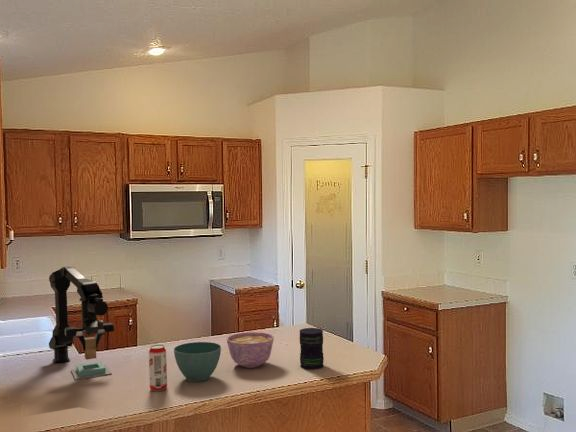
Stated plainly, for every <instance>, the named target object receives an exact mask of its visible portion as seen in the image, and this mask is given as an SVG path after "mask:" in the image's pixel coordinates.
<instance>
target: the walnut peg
mask: <svg viewBox="0 0 576 432" xmlns="http://www.w3.org/2000/svg"><path fill="white" fill-rule="evenodd" d="M84 342H85V351H84V359H85V360H92V359H94V360H95V359H97V350H96V338H95V336H90V337H84Z"/></svg>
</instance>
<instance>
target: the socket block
mask: <svg viewBox="0 0 576 432" xmlns="http://www.w3.org/2000/svg"><path fill="white" fill-rule="evenodd" d="M70 372H71V374H72V376H73V378H74V380H75V381H78V380H85V379H92V378H98V377H105V376H111V375H112V371H111V370H110V369H109V367H108V365H107V364H104V363H103V362H102V361H98V362H90V363H85V364H77V365H76V368H73V369H71V370H70Z"/></svg>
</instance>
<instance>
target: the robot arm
mask: <svg viewBox="0 0 576 432" xmlns="http://www.w3.org/2000/svg"><path fill="white" fill-rule="evenodd" d="M48 281H49V285H50V288H51V289H52V290H53V292H54V300H55V301H54V304H55V308H54V309H55V326H54V328H53V329H52V332H51V333H52V335H51V337H50V340H49V341H48V347H49V349H50V350H52V351H53V355H54V358H53V359H52V362H53V364H60V363H68V362H70V361H71V360H70V357H69V347H73V345H74V344H73V343H74V337H75V338H78V339H79V341H80V344H81V346H82V349H83V352H85V342H84V338H85V336H84V334H83V333H85V334H86V335H93V334H94V337H95V338H96V351H97V349H98V346H99V343H100V341H101V340H100V339H101V338H102V336H104V335H106V333H112V332H115V326H114V324H113V323H112V322H104V321H103V319H102V320H101V319H99V320H98V319H97V316H98V317H102V316H104V315H106V314H107V312H108V310H109V306H108V304H107V302H105V301H104V297H103V292H102V290H101V288H100V286H99V284H98V283H97V281H95V280H93V279H88V278H86V277H85V276H84V275H82V274H81V273H80V272H79V271H78V270H77V269H76V267H75V266H74V265H70V266H63V267H61V268H59V269H57V270H55V271H52V272H51V273H50V275H49V277H48ZM71 284H73V285H74V287H76V293H77V294H78V295H79V297H80V298H79V302H81V303H80V304H81V327H79V328H77V327H76V326H71V325H69V321H68V320H69V317H68V313H69V312H68V296H67V295H68V294H67V293H68V290H69V288H70V286H71ZM105 332H106V333H105Z"/></svg>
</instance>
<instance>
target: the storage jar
mask: <svg viewBox="0 0 576 432" xmlns="http://www.w3.org/2000/svg"><path fill="white" fill-rule="evenodd" d="M323 333H324V331H323V329H322V328H317V327H306V328H302V329H300V330H299V344H300V347H299V348H300V352H299V361H300V363H299V364H300V368H301V369H302V370H306V371H307V370H308V371H313V370H314V371H315V370H316V371H317V370H320V369H323V368H324V366H325V365H324V361H325V358H324V349H323V345H324V334H323Z"/></svg>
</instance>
